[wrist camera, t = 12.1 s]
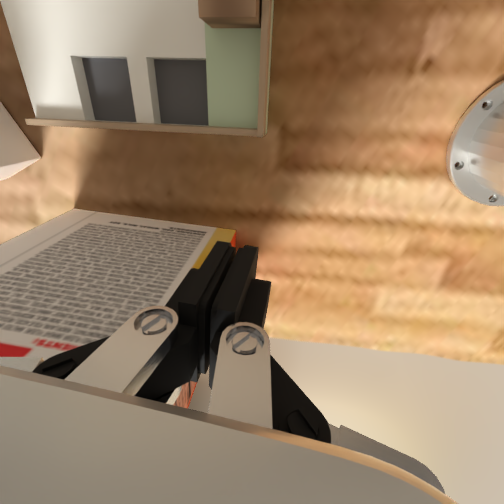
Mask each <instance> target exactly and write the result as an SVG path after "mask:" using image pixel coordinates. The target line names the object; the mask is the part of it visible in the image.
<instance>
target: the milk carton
mask: <svg viewBox="0 0 504 504" xmlns="http://www.w3.org/2000/svg"><path fill="white" fill-rule="evenodd" d="M39 159H41V157H40V155H39V154H38V152H37V151H36V150H35V148H34V147H33V146H32V144H31V143H30V141H29V140H28V139H27V137H26V136H25V135H24V133H23V132H22V130H21V129H20V128H19V126H18V125H17V124H16V122H15V121H14V120H13V118H12V117H11V115H10V114H9V113H8V111H7V110H6V109H5V107H4V106H3V105H2V103H1V102H0V181H1V180H5V179H8V178H10V177H11V176H13V175H15V174H16V173H18V172H20V171H21V170H23V169H25V168H26V167H28V166H29V165H31V164H33V163H34V162H36V161H38V160H39Z"/></svg>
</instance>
